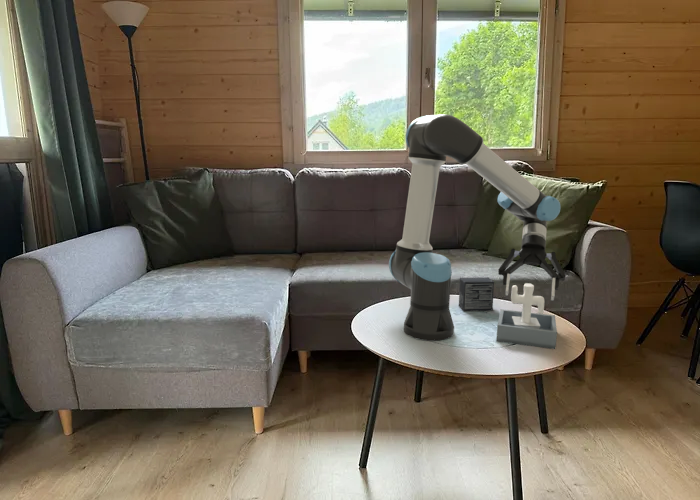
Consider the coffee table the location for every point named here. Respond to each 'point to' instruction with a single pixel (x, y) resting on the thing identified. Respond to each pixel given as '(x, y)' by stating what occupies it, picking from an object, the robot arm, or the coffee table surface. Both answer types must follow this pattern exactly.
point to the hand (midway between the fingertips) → (529, 295)
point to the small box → (476, 294)
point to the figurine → (527, 306)
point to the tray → (527, 330)
